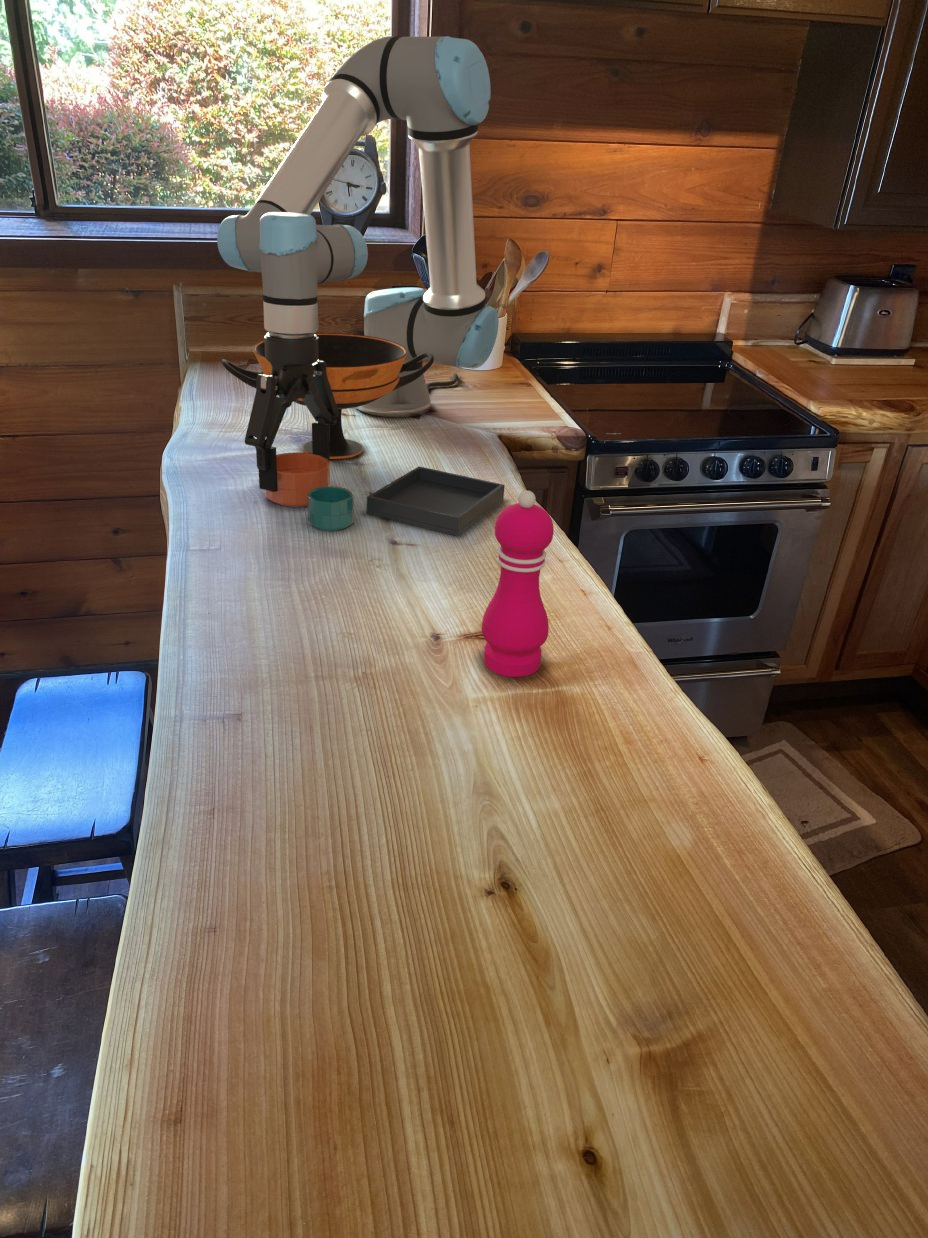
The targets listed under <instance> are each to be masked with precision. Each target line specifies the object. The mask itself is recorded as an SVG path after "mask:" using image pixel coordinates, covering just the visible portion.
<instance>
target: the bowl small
mask: <svg viewBox="0 0 928 1238" xmlns="http://www.w3.org/2000/svg"><path fill="white" fill-rule="evenodd" d="M307 500H308V506H307V520H308V523H309V524H310V525H311V526H312V527H314V528H316V529H317V530H320V531H326V532H333V531H334V532H335V531H342V530H345V529H347V528H348V527H350V526H351V525H352V524H353V522H354V520H355V519H354V517H355V516H354V509H355V508H354V507H355V506H354V505H355V504H354V493H353V491H352V490H350V489H348V488H344V487H341V486H330V487H320V488H315V489H313V490H311V491H309V493H308V494H307Z"/></svg>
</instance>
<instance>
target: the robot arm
mask: <svg viewBox="0 0 928 1238" xmlns="http://www.w3.org/2000/svg"><path fill="white" fill-rule="evenodd" d="M491 91H492V90H491V78H490V72H489V68H488V65H487V61H486V58H485V57H484V54H483V52H482V51H481V50H480V48H479V47H478V45H477V44H476V43H475V42H473V41H471V40H470V39H468V38H467V39H466V38H459V37H451V36H450V35H446V36H444V35H443V36H442V35H441V36H440V35H439V36H398V35H390V36H389V35H388V36H387V35H386V36H383V37H381V38H380V37H379V38H377V39H375V40H373V41H371V42H369V43H367V44H365V45H364V46H362V47H361V48H359V49H358V50H357V51H355V52H354V53H353V54H352V55H351V56H349V57H348V58H347V59H346V60H345V61H344V62H343V63H342V64H341V65H340V66H339V67H338V68H337V69H336V70H335V72H334V73H333V75H331V77H330V78H329V80H328V81H327V83H326V84H325V85H324V88H323V90H322V93H321V100H322V102H321V103H320V105H319V107H318V108H317V110H316V111H315V113H314V114H313V116H312V117H311V118H310V119H309V122H308V123H307V124H306V126H305V128H304V129H303V130H302V132H301V134H300V135H299V136H298V138H297V139H296V141H295V142H294V144H293V146H292V147H291V148H290V150H289V151H288V153H287V154H286V156H285V157H284V159H283V160H282V161H281V163H280V164H279V166H278V167H277V169H276V171H274V174H273V175H272V177H270V179H269V180H268V182H267V184H266V185H265V187H264V188H263V190H262V191H261V192H260V194H259V196H258V197H257V199H256V200H255V202H254V203H253V205H252V206H251V207H250V209H249V211H248V212H247V214H245V215H243V214H237V215H235V214H234V215H229V216H227V217H225V218H224V219H223V220H222V221H221V223H220V225H219V227H218V230H217V235H216V242H217V243H216V244H217V249H218V253H219V254H220V256H221V258H222V260H223V261H224V262H225V263H226V264H227V265H228V266H229V267H232V268H235V269H238V270H242V271H247V272H250V273H254V272H255V273H261V281H262V302H263V304H262V305H263V328H264V330H265V331H266V333H265V335H264V336H263V337H264V339H263V340H265V358H266V360H267V361H268V362H270V364H271V365H272V372H271V375H269V376H267V375H261V374H258V375H257V378H256V388H255V395H254V399H253V403H252V407H251V412H250V416H249V420H248V425H247V429H246V433H245V437H244V444H245V445H246V446H251V447H254V448H255V453H256V454H255V455H256V457H255V458H256V467H257V469H258V488H259V490H268V491H272V492H276V491H278V483H277V460H276V455H277V447H276V446H273V444H274V441H275V439H276V437H277V434H278V432H279V429H280V426H281V425H282V421H283V420H284V416H285V414H286V412H287V409H288V408H290V407H291V406H292V404H293V403H295V402H294V401H296V400H298V399H299V398H302V400H303V402H304V403H305V405H306V406H305V407H306V408H307V410H308V411H309V413H310V414H311V416H312V418H313V419H314V420H315V422H312V423H311V441H312V454H315V455H319V456H322V457H324V458H326V459H327V460H328V461H329V463H330V464H331V461H330V460H331V459H330V450H329V442H330V424H331V425H335V424H336V418H334V417H338V414H339V412H338V408H337V405H336V402H335V399H334V396H333V393H332V390H331V387H330V383H329V380H328V377H327V371H326V362H325V361H320V360H318V359H319V347H318V337H317V335H316V334H314V333H318V331H319V301H318V285H322V284H327V283H334V282H345V281H348V280H350V279H353V278H356V277H357V276H359V275H361V274H362V272H363V271H364V269H365V268H366V265H367V262H368V259H369V258H368V256H369V251H368V245H367V242H366V239H365V238H364V236H363V235H362V233H361V231H359V230H358V229H357V228H356V227H354V226H352V225H348V224H339V223H333V224H332V225H331V224H330V225H329V224H327V225H325V224H317V222H316V221H317V220H316V219H315V217H314V216H313V215H311V214H312V213H313V211H314V209H315V207H316V206H317V205H318V203H319V202H320V200H321V199H322V197H323V196H324V194H325V193H326V191H327V189H328V188H329V186H330V185H331V184H332V182H333V180H334V178H335V177H336V176H337V175H338V172H339V171H340V169H341V167H342V166H343V165H344V163H345V162H346V160H347V158H348V157H349V155H350V154H351V152H352V151H353V150H354V148H355V146H356V144H357V143H358V142H359V140H360V138H361V137H365V136H368V135H369V134H371V133H372V132H373V130H374V129H375V128H376V126H377V125H378V123H380V122H382V121H386V120H399V121H400V120H401V121H406V123H407V124H406V126H407V136H408V138H409V139H410V140H411V142H413V143H414V144H415V145H416V146H417V148H418V157H419V168H420V181H421V193H422V205H423V216H424V217H423V218H424V229H425V241H426V251H427V265H428V275H429V276H428V277H429V287H428V289H427V290H426V291H425V289H424V288H423V287H422V288H421V287H415V286H414V287H394V288H386V289H385V288H384V289H378V290H373V291H371V292H369V293H368V294H367V295H366V297H365V300H364V311H363V312H364V313H363V318H364V319H363V320H364V321H363V322H364V323H363V324H364V336H371V337H377V338H381V339H385V340H389V341H392V342H395V343H398V344H400V345H401V346H403V347H404V348H405V349H406V350H407V356H406V358H405V361H404V363H406V362H408V361H410V360H412V359H414V358H415V357H417V356H419V355H421V354H423V353H431V354H432V355H433V357H434V361H433V364H439V365H445V366H451V367H455V368H457V369H462V368H463V369H464V368H465V369H475V370H476V369H478V368H480V367H482V366H483V365H484V364H485V363H486V362H487V361H488V359H489V358H490V356H491V354H492V352H493V349H494V347H495V345H496V341H497V336H498V332H499V321H500V320H499V314H498V312H497V309H496V308H494V307H492V306H491V305H487V301H486V300H487V299H486V291H485V289H483V288H482V287H481V286H480V285H479V284H478V283H477V282H478V281H477V263H476V245H475V244H476V241H475V222H474V204H473V183H472V181H473V180H472V164H471V162H472V161H471V142H472V141H473V140H474V139H475V137H476V136H477V135H478V133H479V124H481V123H482V122H483V121H484V120H485V119H486V117H487V116H488V112H489V109H490V104H489V102H490V101H491V93H492V92H491ZM429 359H430V358H429V357H426V358H424V359H422V360H420V361H419V362H417V363H416V364H415V365H413V366H412V367H410V368H409V369H407V370H405V371H403V372H401V373H399V377H403V376H405V375H408V374H411V373H413V372H415V371H417V370H419V369H420V368H422V367H423V366H424V365H423V364H424V363H423V362H426V363H427V362H428V361H429ZM404 363H403V364H404ZM452 376H453V377H452V380H447V381H432V382H428V383H427V382H426V379H425V373H423V374H422V375H421V376H420V377H419V378H417V379H416V380H414V381H412V382H411V383H409V384H407V385H404V386H402V387H400V388H397V389H395V390H393V391H391V392H389V393H388V394H386V395H384V396H382V397H381V398H379V399H377V400H375V401H373V402H371V403H368V404H365V405H362V406H359V407H356V409H357V410H359V411H360V412H363V413H365V414H369V415H372V416H378V417H385V418H407V417H408V418H409V417H416V416H420V415H421V416H422V415H424V414H426V413H427V412H429V411H430V410H431V397H430V392H429V388H431V387H448V386H449V387H450V386H453V385H455V384H456V383H457V381H458V380H459V376H458V374H457V372H455V373H453V375H452ZM277 394H278V395H277ZM327 406H328V407H330V408H327Z"/></svg>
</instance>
